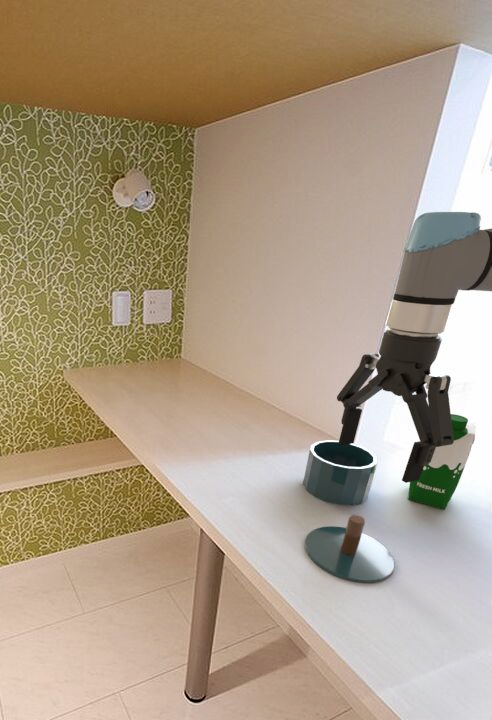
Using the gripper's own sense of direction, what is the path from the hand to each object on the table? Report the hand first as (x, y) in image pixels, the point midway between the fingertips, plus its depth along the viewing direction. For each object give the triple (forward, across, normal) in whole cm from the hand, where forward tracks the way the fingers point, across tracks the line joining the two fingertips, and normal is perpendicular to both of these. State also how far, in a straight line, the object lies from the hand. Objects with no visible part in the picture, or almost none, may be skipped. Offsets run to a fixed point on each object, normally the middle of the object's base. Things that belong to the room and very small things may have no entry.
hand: (375, 460), depth 72 cm
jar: (+19, +18, -12) cm, 28 cm away
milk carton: (+19, +9, -30) cm, 36 cm away
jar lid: (+18, -1, +2) cm, 18 cm away
